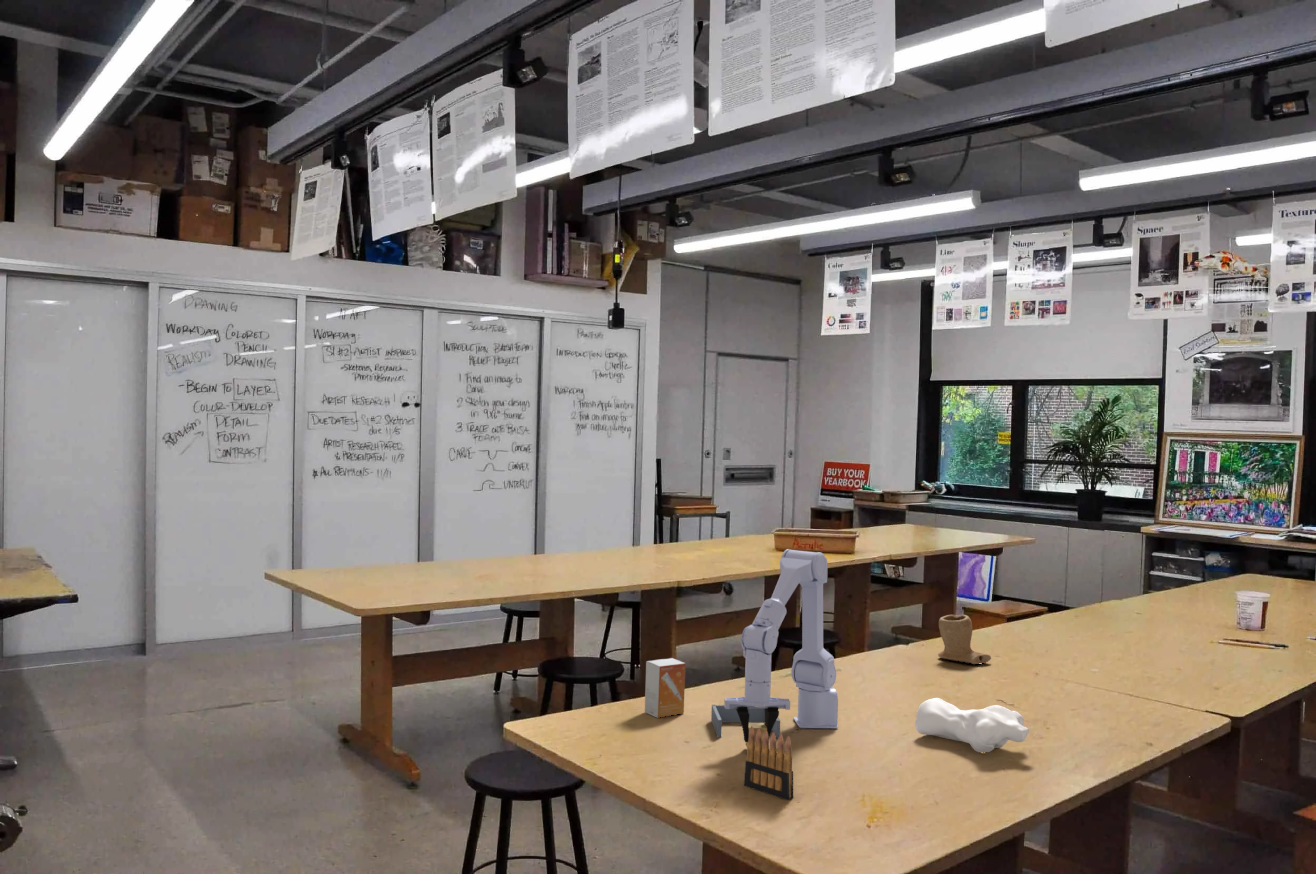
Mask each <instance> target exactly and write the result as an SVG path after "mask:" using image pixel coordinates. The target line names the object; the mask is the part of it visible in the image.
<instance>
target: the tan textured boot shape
mask: <svg viewBox="0 0 1316 874" xmlns="http://www.w3.org/2000/svg"><path fill="white" fill-rule="evenodd" d="M938 628H939V633H940V637H941V639H942V642H943V645H944V648H943V650H942V651H941V652H938V653H937V655H938V657H939V658H941V659H945V660H950V661H953V662H958V661H959V662H958V663H963V662H965V663H964V664H969V663H971V665H975V664H979V663H984V664H986V663H988V662H989V661H991V659H992V656H991V655H989V654H988V653H987V654H986V653H981V652H978V651H977V652H976V651H974V650H973V649H972V647H971V643H972V636H973V621H972V620H971V618H970V616H969V615H966V614H959V615H957V614H947V615H943V616H941V617H940V618H939V620H938Z"/></svg>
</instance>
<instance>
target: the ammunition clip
mask: <svg viewBox="0 0 1316 874" xmlns="http://www.w3.org/2000/svg"><path fill="white" fill-rule="evenodd" d="M784 744H785V747H784ZM744 764H745V766H744V781H743V786H744V787H746V786H747V787H746V788H749V787H750V789H752V790H756V791H759V792H762V793H765V794H768V795H771V796H775V797H778V798H780V799H783V800H787V801H789V800H791V799H793V798H794V771H793V756H792V741H791V738H790V736H789V735H788V736H787V737H786V741H785V743H784V737H783V734H782V733H780V736H779V738H777V739H776V736H775V733H774V732H773V731H772V732H771V734H770V738H769V737H768V732H767V730H765V733H764V736H763V746H762V737H761V731H760V728H758V730H757V734H756V742H755V736H754V729H753V726H751V728H750V731H749V740H748V747H746V760H745V763H744Z"/></svg>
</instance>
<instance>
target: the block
mask: <svg viewBox="0 0 1316 874" xmlns="http://www.w3.org/2000/svg"><path fill="white" fill-rule="evenodd" d="M751 726H753V729H754V736H755V742H756V734H757V730H758V728H760V731H761V737H762V746H763V736H764V733H765V730H767V727H766V726H765V722H749V726H748V732H749V731H750V728H751ZM748 740H749V737H748ZM745 746H746V748H747V747H748V742H745Z"/></svg>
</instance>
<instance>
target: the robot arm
mask: <svg viewBox="0 0 1316 874" xmlns="http://www.w3.org/2000/svg"><path fill="white" fill-rule="evenodd" d="M779 570H780V575H779V578H778V580H777V583H776V585H775V586H774V587H775V588H774V590H773V593H772V594H771V597H770V598H767V599H765V600H763V602H762V604H761V606H760V608H759V610H758V612H757V614H756V616H755V618H754V619H753V621H752V624H749V625H748V626H746V627H745V628H744V629H743V631H742V634H741V638H740V645H741V648H742V652H743V653H742V654H743V655H742V656H743V658H745V671H744V696H739V697H737V696H736V697H724V702H723V703H724V704H723V705H724V707H725V709H730V708H736V710H737V713H738V716H739V718H740V721H741V722H740V725H741V728H742V733H743V740H744V742H745V743H746V742H748V737H749V732H748V726H749V723H750V722H749V713H748V709H747V708H760V709H765V722H764V724H765V726H766V727H767V732H768V737H769V739H771V735H772V732H773V731H772V728H773V725H774V723H775V721H776V720H777V718H779V715H780V711H779V710H781V709H783V710H784V709H785V711H786V710H791V700H790V698H779V697H771V682H772V680H771V679H772V653H773V652H774V651H775V649H776V647H777V644H778V638H779V633H780V632H779V629H780V627H781V625H782V622H783V621H784V619H785V616H786V615H787V613H788V612H787V607H786V605H787V603H788V601H789V600H790V598H791V596H792V595H793V593H794V592H795V591H796V588H797V587H798V585H799V584H800V586H801V589H802V590H801V591H802V592H801V603H802V604H801V605H802V606H801V609H802V610H801V614H802V615H801V617H802V618H801V621H802V622H801V623H802V625H801V626H802V627H801V629H802V630H801V631H802V633H801V634H802V635H801V637H802V638H801V639H802V640H801V643H802V644H801V645H802V647H801V649H799V650H798V651H796V652H795V654H794V655H793V661H792V666H791V670H790V671H791V679H792V681H793V683H795V687H797V688H798V692H797V693H798V695H797V697H798V699H797V700H798V701H797V716H793V720H794V721H795V723H796V725H797V726H798V727H799V728H800V729H838V728H839V725H838V722H839V721H838V718H839V711H838V710H839V697H838V692H837V689H836V688H834V685H835V684H836V680H837V669H836V665H835V658H834V656H833V654H831V653H830V652H829V651H827V649H825V648H824V584H827V583H828V558H827V557H826V556H825V554H824V553H823V552H819V551H818V552H815V551H806V550H797V549H790V548H787V549H785V550H784V551H783V553H782V554H781V557H780V560H779Z"/></svg>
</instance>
